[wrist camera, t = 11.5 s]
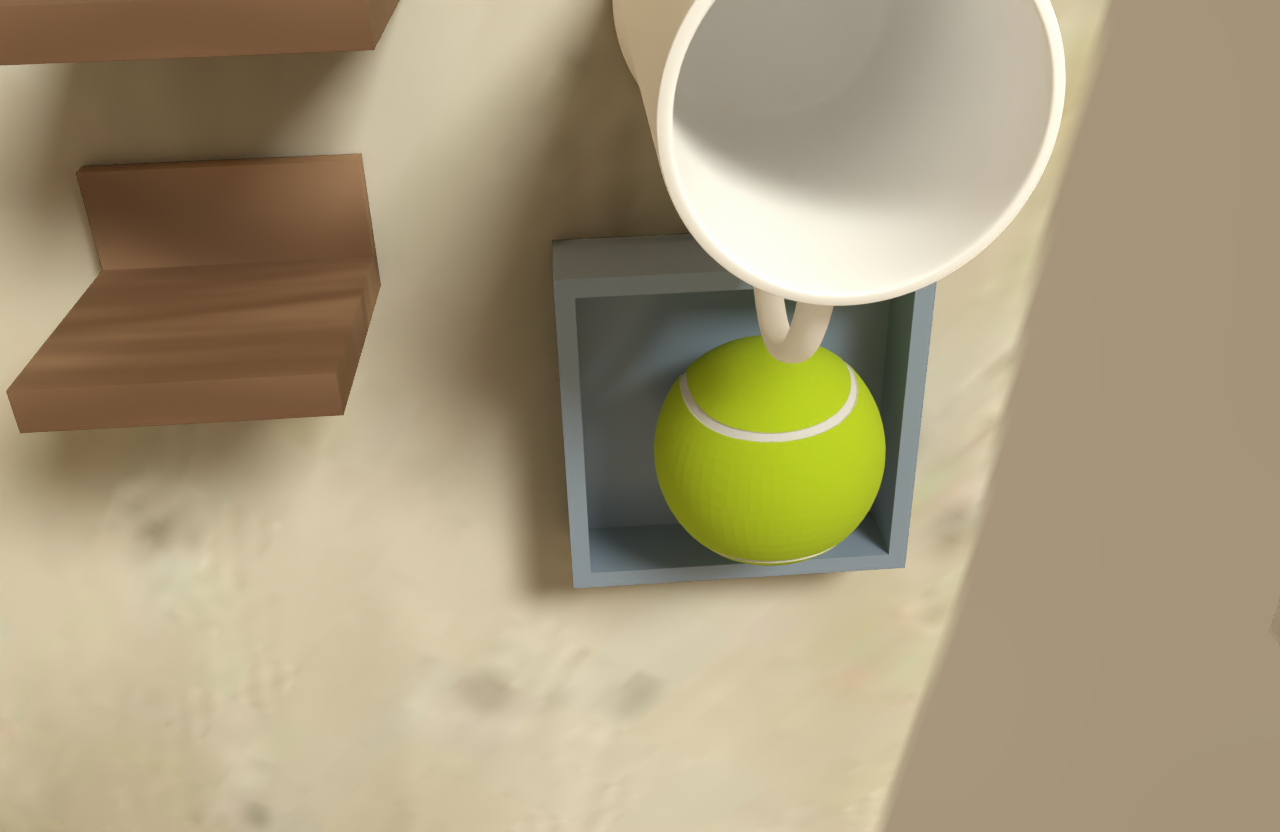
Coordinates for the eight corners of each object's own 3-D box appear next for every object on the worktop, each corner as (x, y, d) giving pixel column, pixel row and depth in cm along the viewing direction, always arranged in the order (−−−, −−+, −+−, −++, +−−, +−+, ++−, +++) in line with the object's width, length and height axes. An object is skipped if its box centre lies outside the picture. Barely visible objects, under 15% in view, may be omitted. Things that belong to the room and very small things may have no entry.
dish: (552, 240, 37) (552, 279, 34) (911, 222, 37) (938, 260, 35) (571, 535, 42) (573, 588, 40) (883, 516, 43) (905, 567, 40)
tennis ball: (853, 471, 41) (906, 600, 35) (652, 490, 41) (671, 624, 35) (858, 287, 38) (919, 396, 32) (638, 307, 37) (657, 420, 31)
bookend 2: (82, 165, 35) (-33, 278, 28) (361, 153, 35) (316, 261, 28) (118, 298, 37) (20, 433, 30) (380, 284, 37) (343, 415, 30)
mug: (849, 258, 38) (964, 463, 27) (581, 229, 37) (595, 431, 26) (949, -149, 32) (1144, -84, 22) (634, -198, 31) (680, -154, 20)
